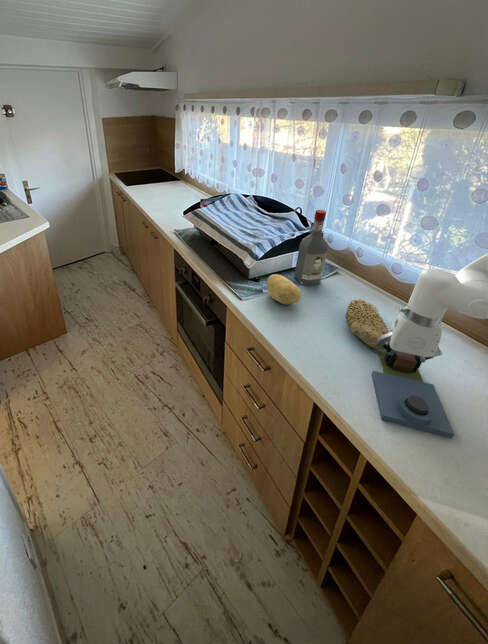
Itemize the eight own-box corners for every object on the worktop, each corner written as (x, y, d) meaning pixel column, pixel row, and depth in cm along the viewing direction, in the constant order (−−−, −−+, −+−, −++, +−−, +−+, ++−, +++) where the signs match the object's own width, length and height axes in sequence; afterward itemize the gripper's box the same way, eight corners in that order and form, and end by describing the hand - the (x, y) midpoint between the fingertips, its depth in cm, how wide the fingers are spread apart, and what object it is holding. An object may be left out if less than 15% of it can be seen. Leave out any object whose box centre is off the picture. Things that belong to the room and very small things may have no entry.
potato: (273, 312, 109) (276, 289, 104) (263, 289, 122) (266, 268, 117) (301, 311, 109) (305, 289, 104) (289, 288, 122) (292, 268, 117)
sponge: (342, 311, 111) (339, 336, 94) (352, 293, 108) (351, 315, 91) (381, 329, 106) (385, 358, 89) (393, 310, 103) (399, 337, 86)
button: (422, 402, 73) (425, 398, 72) (428, 417, 70) (431, 412, 69) (403, 398, 74) (406, 393, 73) (408, 412, 71) (410, 407, 70)
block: (411, 374, 84) (417, 362, 82) (392, 369, 85) (397, 357, 83) (406, 361, 88) (412, 350, 85) (388, 357, 89) (393, 346, 87)
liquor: (291, 275, 131) (303, 208, 117) (310, 272, 132) (324, 206, 118) (302, 286, 123) (316, 216, 109) (323, 284, 124) (339, 214, 110)
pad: (413, 359, 89) (413, 358, 89) (423, 384, 81) (423, 382, 81) (378, 352, 92) (379, 351, 91) (384, 375, 84) (385, 374, 84)
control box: (430, 388, 80) (435, 379, 79) (451, 439, 68) (458, 429, 67) (371, 374, 84) (374, 365, 83) (381, 419, 73) (385, 410, 71)
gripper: (387, 317, 77) (368, 367, 86) (470, 332, 72) (440, 384, 81) (381, 300, 83) (364, 349, 92) (457, 313, 78) (431, 363, 87)
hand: (400, 365), depth 86 cm, fingers open, 5 cm apart
